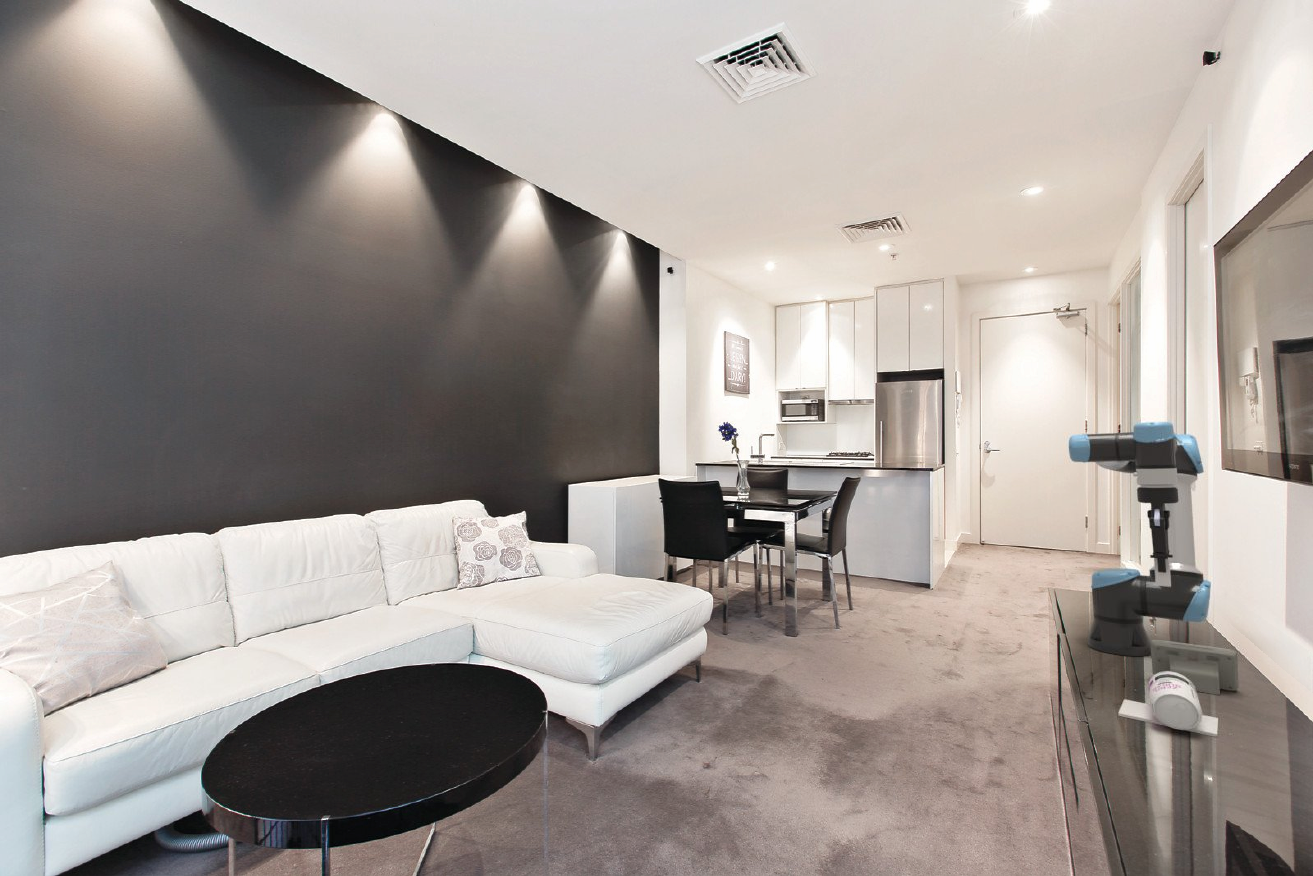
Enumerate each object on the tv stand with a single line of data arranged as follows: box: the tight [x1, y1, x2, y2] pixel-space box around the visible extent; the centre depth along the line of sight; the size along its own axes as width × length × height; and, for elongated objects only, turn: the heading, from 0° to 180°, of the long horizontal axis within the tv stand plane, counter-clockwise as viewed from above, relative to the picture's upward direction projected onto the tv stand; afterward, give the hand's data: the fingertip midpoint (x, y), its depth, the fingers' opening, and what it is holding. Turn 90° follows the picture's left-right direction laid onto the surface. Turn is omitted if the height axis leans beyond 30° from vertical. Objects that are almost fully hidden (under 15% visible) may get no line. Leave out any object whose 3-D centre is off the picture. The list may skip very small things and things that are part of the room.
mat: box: [1117, 698, 1219, 738], centre depth 130 cm, size 10×16×1 cm, turn 46°
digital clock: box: [1150, 639, 1240, 696], centre depth 147 cm, size 16×9×11 cm, turn 38°
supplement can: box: [1148, 671, 1203, 731], centre depth 128 cm, size 8×8×15 cm
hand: (1163, 585), depth 142 cm, fingers closed
